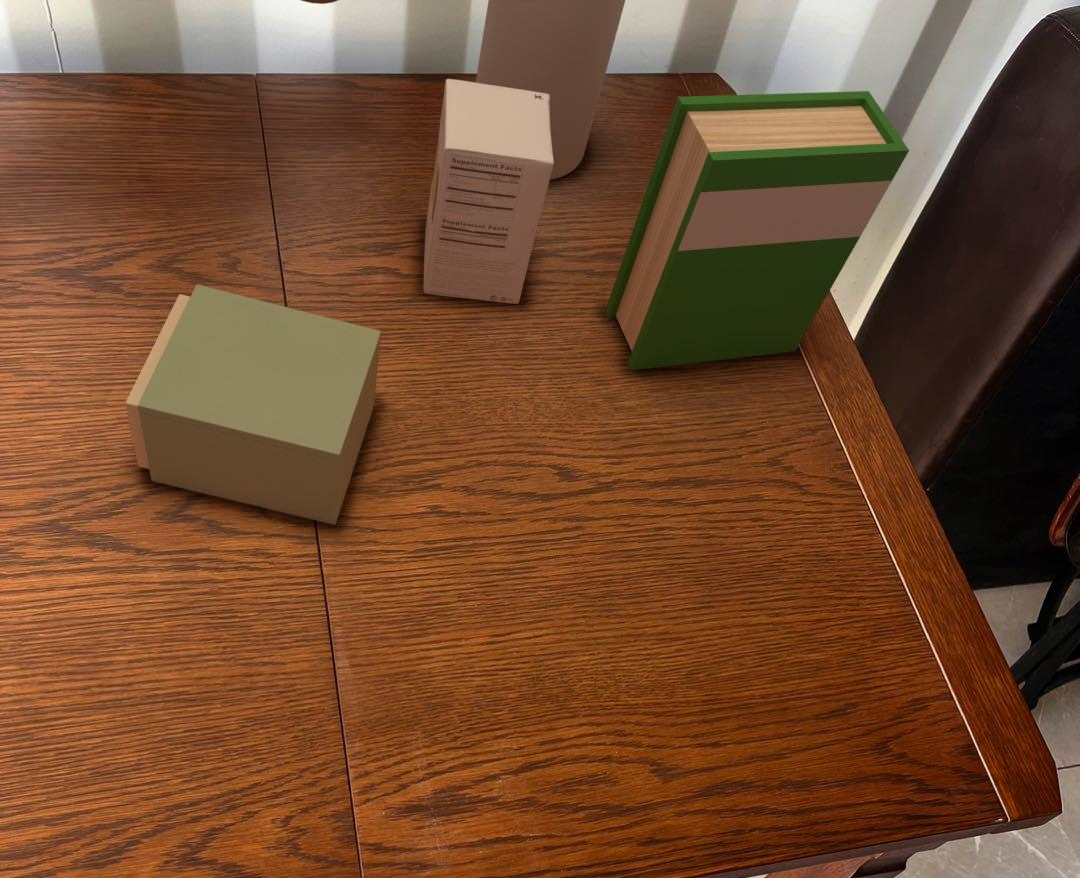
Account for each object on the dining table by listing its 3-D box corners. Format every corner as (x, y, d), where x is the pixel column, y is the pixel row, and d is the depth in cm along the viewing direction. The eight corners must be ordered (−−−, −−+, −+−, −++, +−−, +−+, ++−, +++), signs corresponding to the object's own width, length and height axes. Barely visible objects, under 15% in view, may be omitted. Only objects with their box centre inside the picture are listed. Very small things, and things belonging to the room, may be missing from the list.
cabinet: (151, 483, 85) (137, 405, 77) (204, 366, 92) (196, 283, 84) (335, 527, 86) (339, 454, 78) (373, 408, 93) (381, 330, 85)
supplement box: (424, 226, 106) (444, 73, 92) (517, 237, 108) (550, 89, 94) (422, 297, 101) (443, 147, 87) (520, 308, 102) (556, 162, 89)
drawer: (122, 462, 84) (108, 398, 78) (172, 357, 91) (163, 289, 84) (308, 507, 85) (310, 448, 79) (345, 400, 92) (350, 336, 85)
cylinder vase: (481, 185, 111) (524, -56, 90) (456, 106, 117) (491, -137, 96) (596, 184, 114) (663, -49, 94) (566, 107, 120) (622, -127, 100)
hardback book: (630, 372, 101) (713, 160, 81) (604, 313, 104) (677, 96, 84) (794, 353, 106) (909, 150, 87) (764, 298, 110) (868, 90, 90)
